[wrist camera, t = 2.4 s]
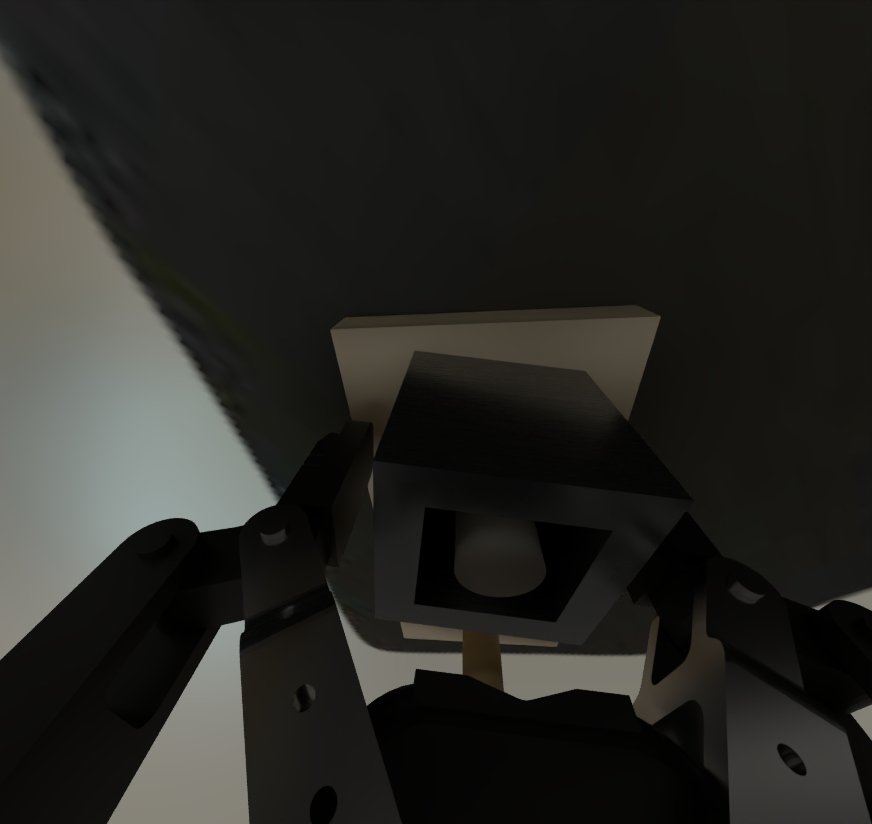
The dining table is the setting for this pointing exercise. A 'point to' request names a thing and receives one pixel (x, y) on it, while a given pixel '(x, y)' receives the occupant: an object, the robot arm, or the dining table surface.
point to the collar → (513, 494)
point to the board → (504, 341)
